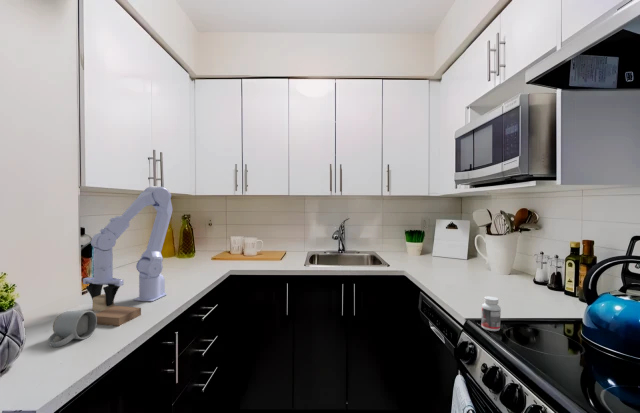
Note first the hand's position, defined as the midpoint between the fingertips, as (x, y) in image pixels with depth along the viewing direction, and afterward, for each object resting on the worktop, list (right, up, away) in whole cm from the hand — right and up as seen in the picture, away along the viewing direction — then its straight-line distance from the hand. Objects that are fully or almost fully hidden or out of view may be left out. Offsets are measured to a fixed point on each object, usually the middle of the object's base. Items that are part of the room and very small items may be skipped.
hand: (103, 304), depth 119 cm
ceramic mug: (+7, -3, -25) cm, 26 cm away
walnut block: (+11, -2, -10) cm, 15 cm away
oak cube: (0, -1, 0) cm, 1 cm away
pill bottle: (+132, -4, -12) cm, 133 cm away
